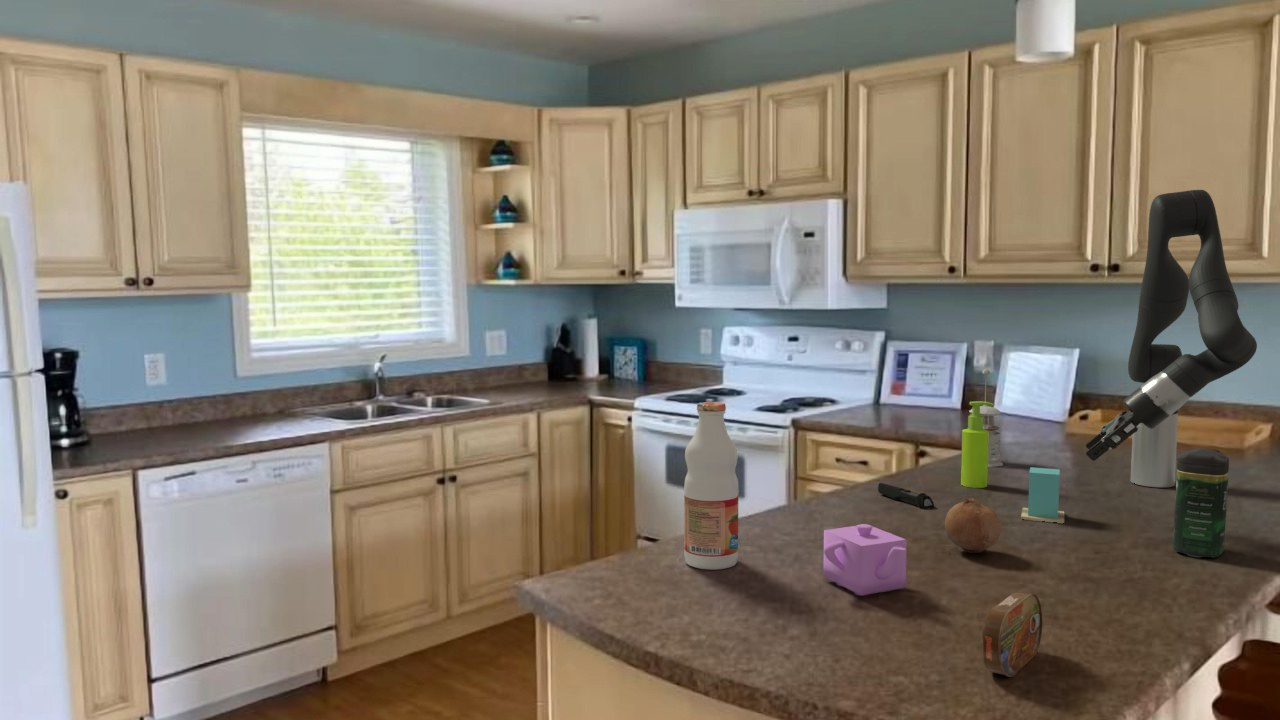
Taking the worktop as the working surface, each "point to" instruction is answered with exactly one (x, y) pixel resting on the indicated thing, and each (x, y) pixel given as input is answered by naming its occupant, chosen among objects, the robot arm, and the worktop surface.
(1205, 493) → the coffee jar
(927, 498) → the electric trimmer
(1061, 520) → the post
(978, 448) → the soap dispenser
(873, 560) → the teapot
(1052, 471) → the teal tower prism
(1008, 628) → the tin
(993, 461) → the french press
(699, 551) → the fruit juice
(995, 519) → the onion
